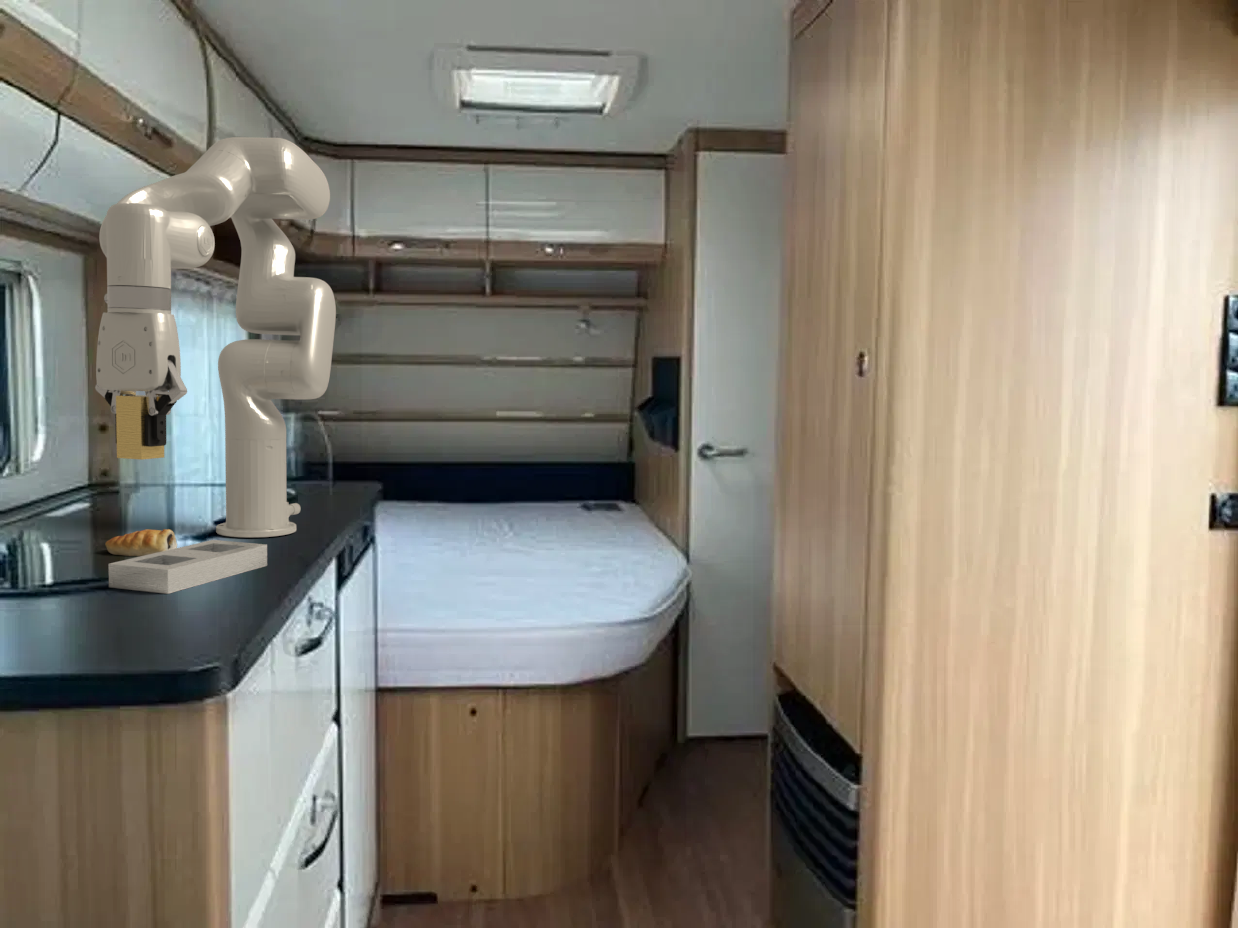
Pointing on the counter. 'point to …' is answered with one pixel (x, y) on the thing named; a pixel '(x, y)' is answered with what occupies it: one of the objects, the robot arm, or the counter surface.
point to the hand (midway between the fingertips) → (141, 443)
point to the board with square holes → (187, 566)
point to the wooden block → (133, 429)
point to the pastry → (142, 542)
